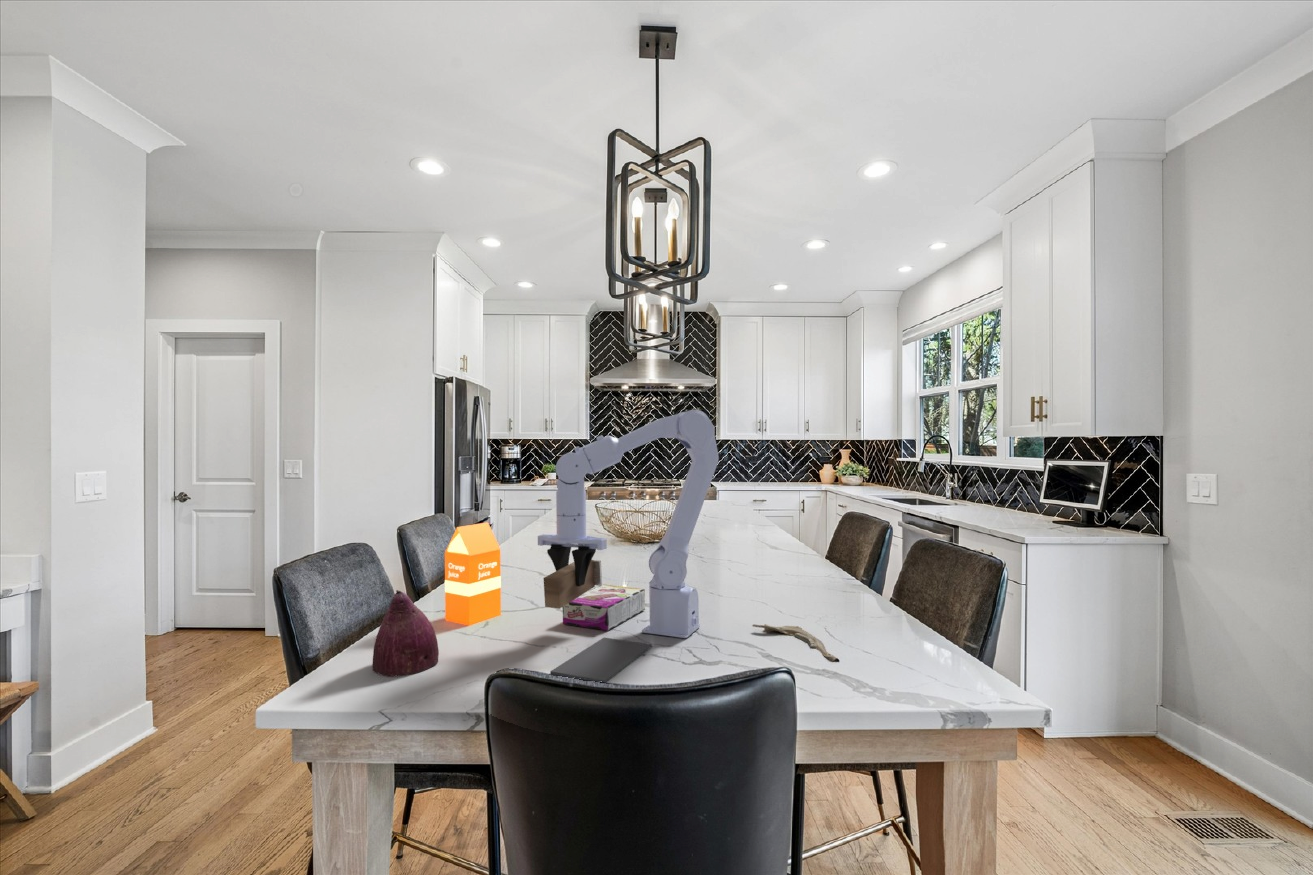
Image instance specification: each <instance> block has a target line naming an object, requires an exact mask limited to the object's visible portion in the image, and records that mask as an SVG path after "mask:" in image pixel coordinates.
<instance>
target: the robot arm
mask: <svg viewBox="0 0 1313 875" xmlns="http://www.w3.org/2000/svg"><path fill="white" fill-rule="evenodd" d="M713 424H714V423H713V422H712V421H711V419H710V418H709V416H708V415H707V414H706V413H705V412H703V411H702V410H700V409H690V410H687V411H682V412H679V413H676V414H673V415H669V416H665V417H661V418H658V419H655V420H653V421H651V422H649V423H647V424H645V425H644V426H641V427H639V428H636V429H635V430H633V431H631V432H629V433H628V432H627V434H624V435H622V436H620V437H619V438H616V437H614V436H612V435H606V436H603V435H602V434H601V435H599V436H597V437H596V438H595V439H596V440H595V441H592V442H590V443H588V444H585V445H584V446H582V447H580V446H575V447H574V448H573V449H574V452H567V453H564V454H563V455H562V456H560V458H559V459H558V460H557V462H556V465H555V473H556V475H557V477H558V478H557V481H556V488H557V490H556V493H555V495H556V497H555V499H556V501H555V502H556V504H555V507H556V510H555V512H556V534H544V533H543V534H539V535H538V536H537V546H540V547H541V546H543V547H544V546H550V548H548V549H547V550H546V551H547V552H546V553H547V555H548V556H549V558H550V560H551V562H552V564H553V566H554V569H555V572H556V571H558V570H560V569H561V568H563V567H565V566H567V565H569V564H570V562H569V561H570V554H571V555H572V559H573V562H574V564H575V581H576V586H581V585H584V584H585V578H586V574H587V570H588V567H589V564H590V562H591V560H593V557H594V555H595V554H596V550H598V551H603V550H606V549H607V548H608V547H607V538H604V537H595V536H591V535H587V493H586V491H587V490H586V489H585V477H586V476H587V474H589V475H593V474H596V473H598V472H601V471H602V470H603V471H604V470H605V469H607V468H610V467H611V466H614V465H616V464H618V463H620V462H621V461H622V458H623V456H624V453H626V452H629V451H631V450H633V449H636V448H639V447H641V446H643V445H646V444H648V443H651V442H652V441H655V440H658V439H661V438H663V439H664V438H665V439H677V440H678V441H679V442H680V443H681V444H682V446H684V447H685V449H686V452H687V454H688V456H689V457H690V459H691V464H690V466H689V468H688V471H687V475H686V477H685V480H684V481H683V482H684V483H683V485H682V488H681V491H680V493H679V497H678V499H677V502H676V505H675V506H674V507H675V508H674V511H673V513H672V515H671V519H670V521H669V525H668V527H667V530H666V532H665V534H664V535H663V537H662V538H661V540H660V542H659V544H658V546H657V548H656V549H655V550H654V551H653V552H652V553H651V554H650V556H649V559H648V568H649V570H650V572H651V574H653V576H652V579H651V580H649V583H648V585H649V587H648V588H649V589H648V591H649V601H648V602H649V625H647V626H646V627H644V628H642V630H641V633H645V634H652V635H659V636H667V637H674V638H681V639H687V638H688V637H689V636H690V635H692V634H694V632H695V631H697V630H698V629H699V628H700V627H701V626H700V624H699V619H700V618H699V593H698V590H697V588H695V587H690V586H688V585H686V581H685V580H686V578H687V573H688V571H687V570H688V569H687V560H688V558H689V550H690V549H689V548H690V542H691V538H692V536H693V532H694V531H695V530H694V529H695V527H696V525H697V521H698V518H699V516H700V513H701V511H702V508H703V504H704V502H705V499H706V497H707V494H708V491H709V488H710V486H711V483H712V481H713V477H714V475H715V472H716V470H717V467H718V463H719V458H720V457H719V453H718V452H719V450H718V445H717V441H716V436H715V431H716V430H715V426H714V425H713ZM572 548H576V549H573V550H572ZM571 550H572V551H571Z"/></svg>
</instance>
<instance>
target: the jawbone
mask: <svg viewBox="0 0 1313 875" xmlns="http://www.w3.org/2000/svg"><path fill="white" fill-rule="evenodd" d="M752 627H753V628H761V629H764V631H765V632H779V633H781V634H784V635H786V636H791V637H795V638H797V639H799V640H801V641H803V642H805V643H806V644H808V645H809V646H810V648H814V649H816V650H817V651H818V652H820V653H821V655H822V656H824V657H826V658H827V659H829V660H830V661H831V662H836V663H837V662H840V659H839V658H837V657H836V656H834V655H833V654H831V653H829V652H828V651H827V649H826V647H825V645H824V643H823V642H822V641H821V640H820V639H819V638H817V637H816V636H814V635H812V634H811V633H809V632H808V631H806V630H804V629H803V628H802V627H801V626H800V627H799V626H796V625H795V626H794V625H793V626H792V625H782V626H772V625H769V624H763V625H762V624H752Z"/></svg>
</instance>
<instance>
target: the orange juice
mask: <svg viewBox="0 0 1313 875" xmlns="http://www.w3.org/2000/svg"><path fill="white" fill-rule="evenodd" d="M501 589H502V576H501V548H500V545H499V543H498V540H497V539H496V537H495V534H494V532H493V530H492V528H491V526H490V524H489V522H481V523H475V524H469V525H462V526H457V527H456V529H455V531H454V533H453V535H452V537H451V539H450V541H449V544H448V545H447V548H446V549H445V551H444V599H445V601H444V603H445V608H444V609H445V610H444V611H445V612H444V613H445V616H444V619H445V621H447V622H452V623H456V624H461V625H465V626H472V625H475V624H478V623H479V624H480V623H482V622H484V621H488V620H490V619H494V618H496V617H499V616H502V598H501V596H502V591H501Z"/></svg>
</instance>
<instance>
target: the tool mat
mask: <svg viewBox="0 0 1313 875" xmlns="http://www.w3.org/2000/svg"><path fill="white" fill-rule="evenodd" d="M652 647H653V644H651V643H646V642H645V643H644V642H640V641H639V642H638V641H631V640H625V639H624V640H623V639H616V638H611V637H602V638H600V639H599V640H597V641H596V642H594V643H593V644H591V645H590V646H588V647H586V648H585V649H583V650H582V651H580V652H579V653H577V654H576V655H573V656H572V657H571V658H569V659H568V660H566V661H564V662H563V663H561V664H559V665H558V666H556V667H554V668H553V669H551V670H550V673H552V674H551V675H557V676H561V677H566V676H569V677H568V678H572V677H575V678H574V679H578V678H581V679H580V680H583V679H585V681H589V680H591V681H590V682H595V681H602V682H606V683H607V682H608V681H610V680H611V679H612V678H614V676H616V675H617V674H619V673H620V672H621V671H622V670H624V669H625V668H626V667H627V666H629V665H630V664H631V663H632V662H634V661H636V659H638V658H639V657H640V656H642V654H645V652H647V651H648V650H650V648H652ZM550 673H549V674H550Z"/></svg>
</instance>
